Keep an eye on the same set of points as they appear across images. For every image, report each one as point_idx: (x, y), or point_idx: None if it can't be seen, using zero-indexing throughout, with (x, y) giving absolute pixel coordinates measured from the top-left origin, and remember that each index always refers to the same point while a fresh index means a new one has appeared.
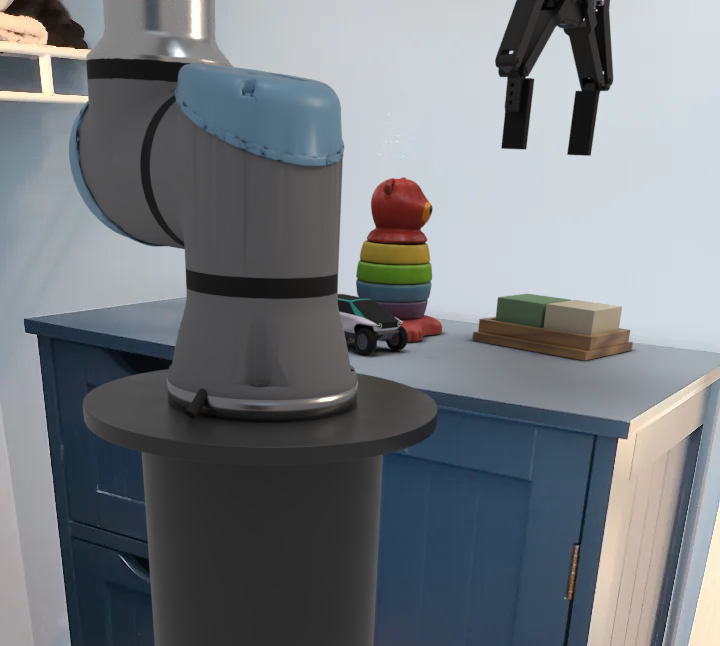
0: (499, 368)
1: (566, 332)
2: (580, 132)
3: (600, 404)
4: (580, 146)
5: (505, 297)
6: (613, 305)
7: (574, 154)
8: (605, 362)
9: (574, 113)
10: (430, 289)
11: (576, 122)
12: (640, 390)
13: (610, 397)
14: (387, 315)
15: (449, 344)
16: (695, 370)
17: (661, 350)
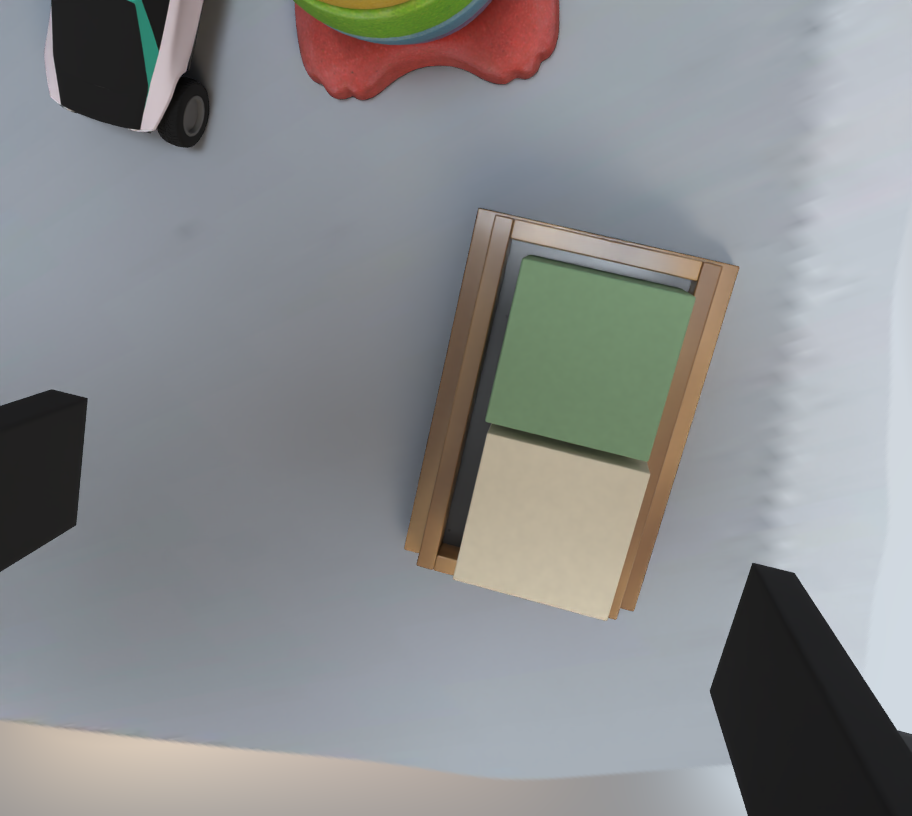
0: (190, 412)
1: (441, 496)
2: (757, 704)
3: (44, 659)
4: (734, 668)
5: (531, 281)
6: (606, 597)
7: (738, 611)
8: (427, 583)
9: (827, 717)
10: (439, 32)
11: (791, 704)
12: (198, 696)
13: (105, 663)
14: (121, 87)
15: (381, 184)
16: (475, 758)
17: (693, 662)
